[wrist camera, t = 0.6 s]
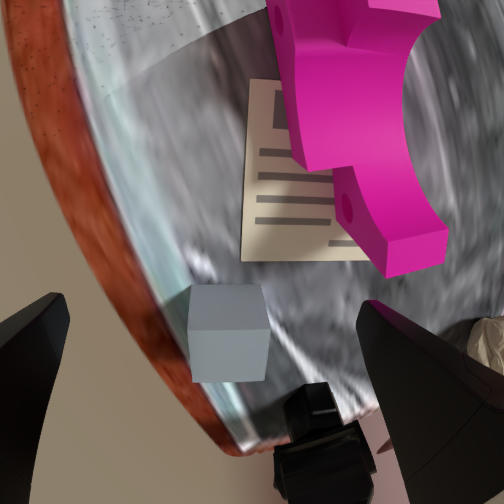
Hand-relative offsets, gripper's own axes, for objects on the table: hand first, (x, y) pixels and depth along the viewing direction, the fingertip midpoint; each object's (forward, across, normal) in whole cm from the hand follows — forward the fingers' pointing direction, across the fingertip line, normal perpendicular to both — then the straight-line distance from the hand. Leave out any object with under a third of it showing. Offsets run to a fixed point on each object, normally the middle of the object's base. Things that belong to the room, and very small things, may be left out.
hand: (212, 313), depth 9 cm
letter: (+12, -7, -1) cm, 14 cm away
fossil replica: (+12, -31, +14) cm, 36 cm away
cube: (+12, -1, +10) cm, 16 cm away
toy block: (+12, -7, -6) cm, 15 cm away
